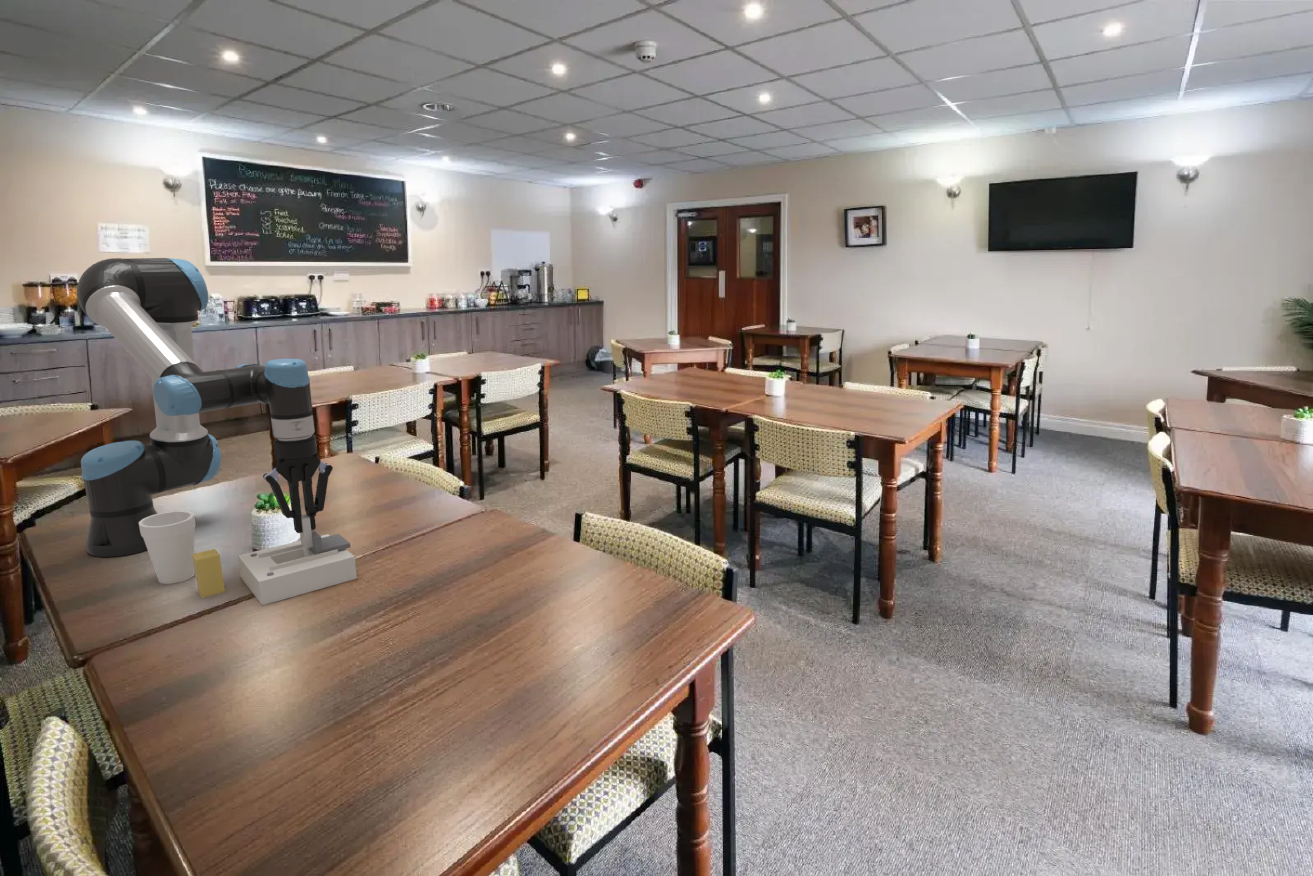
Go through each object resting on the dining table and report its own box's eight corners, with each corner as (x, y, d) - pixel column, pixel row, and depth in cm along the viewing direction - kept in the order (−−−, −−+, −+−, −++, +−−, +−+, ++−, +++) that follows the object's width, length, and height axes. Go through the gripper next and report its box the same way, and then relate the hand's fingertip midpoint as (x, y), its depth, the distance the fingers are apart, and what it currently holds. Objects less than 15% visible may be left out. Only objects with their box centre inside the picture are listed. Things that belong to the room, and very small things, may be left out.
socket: (241, 577, 148) (237, 552, 147) (330, 554, 160) (327, 530, 158) (262, 605, 137) (258, 577, 135) (356, 578, 148) (354, 553, 147)
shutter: (306, 546, 151) (304, 528, 150) (339, 538, 156) (337, 521, 155) (316, 556, 146) (314, 538, 145) (350, 547, 151) (348, 530, 150)
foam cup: (176, 589, 142) (165, 529, 139) (137, 584, 144) (126, 525, 141) (213, 569, 152) (204, 512, 148) (176, 565, 153) (167, 509, 150)
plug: (197, 591, 142) (191, 554, 140) (220, 585, 145) (215, 548, 143) (202, 598, 139) (196, 560, 137) (225, 592, 142) (219, 555, 140)
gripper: (263, 445, 135) (278, 559, 141) (334, 435, 144) (345, 543, 150) (253, 437, 141) (268, 548, 146) (322, 428, 149) (333, 532, 155)
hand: (307, 545), depth 148 cm, fingers closed
